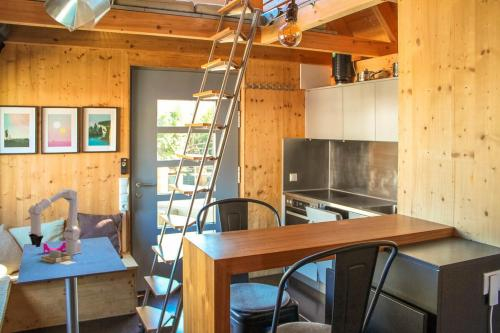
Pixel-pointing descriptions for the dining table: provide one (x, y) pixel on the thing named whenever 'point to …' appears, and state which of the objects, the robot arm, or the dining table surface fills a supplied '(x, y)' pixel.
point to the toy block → (46, 247)
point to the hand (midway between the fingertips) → (36, 246)
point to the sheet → (55, 254)
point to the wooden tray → (51, 260)
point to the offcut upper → (64, 254)
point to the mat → (67, 262)
